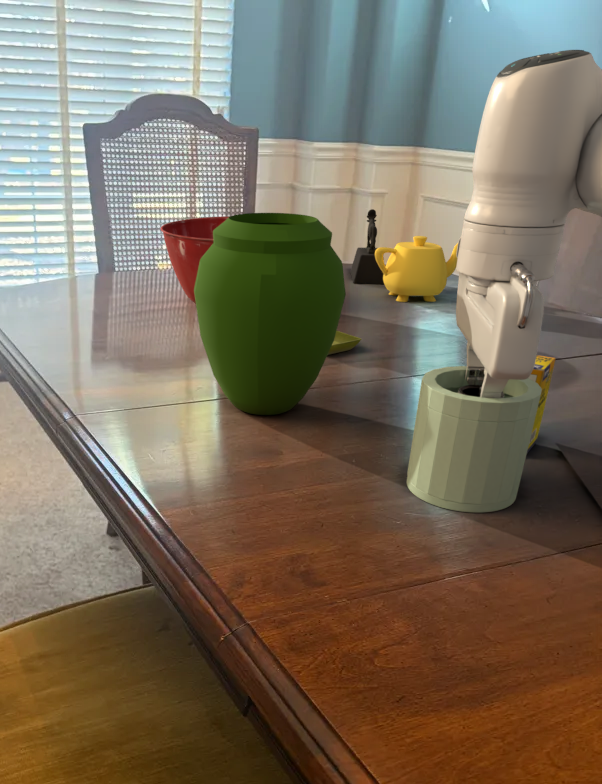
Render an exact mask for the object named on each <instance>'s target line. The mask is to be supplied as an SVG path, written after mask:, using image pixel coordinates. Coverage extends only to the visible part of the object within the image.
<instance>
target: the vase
mask: <svg viewBox="0 0 602 784" xmlns="http://www.w3.org/2000/svg"><path fill="white" fill-rule="evenodd" d="M228 217H229V218H228V219H227V220H225V221H224V222H223V223H222V224H220V225H219V226H218V227H217V228H215V229H214V230H213V242H214V243H213V244H212V245H211V247H210V248H209V249H208V250H207V251H206V253H205V254H204V255H203V256H202V258H201V259H200V262H199V267H198V272H197V277H196V282H195V287H194V294H195V301H196V303H195V308H196V314H197V321H198V327H199V335H200V339H201V342H202V345H203V348H204V351H205V353H206V354H205V355H206V357H207V360H208V363H209V366H210V368H211V372H212V375H213V377H214V379H215V381H216V382H217V384H218V386H219V387H220V389H221V390H222V392H223V395H224V396H225V397H226V398H227V399H228V401H229V402H230V403H231V404H232V406H233V407H235V408H236V409H238V410H239V411H241V412H244V413H245V414H246V413H247V414H250V415H255V416H276V415H280V414H283V413H286V412H289V411H291V410H292V409H293V408H295V406H296V405H298V403H299V402H301V400H302V399H303V398H304V397H305V396H306V394H307V393H308V391H310V389H311V387H312V386H313V384H314V383H315V381H317V378H318V377H319V374H320V373H321V370H322V368H323V365H324V363H325V361H326V360H327V357H328V356H329V355H328V353H329V350H330V348H331V346H332V344H333V342H334V338H335V334H336V331H338V326H339V323H340V318H341V314H342V311H343V306H344V303H345V298H346V295H347V294H346V285H345V274H344V265H343V264H344V263H343V261H342V260H341V258H340V256H339V254H337V252H336V251H335V249H334V248H333V247H332V238H333V232H332V231H331V230H330V229H329V228H328V227H326V226H325V225H324V224H323V223H322V222H321V221H320V220H319V218H317V217H314V216H313V215H312V216H311V215H306V214H300V213H299V214H298V213H287V212H247V213H238V214H233V215H230V216H228Z"/></svg>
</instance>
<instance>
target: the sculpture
mask: <svg viewBox="0 0 602 784" xmlns="http://www.w3.org/2000/svg"><path fill="white" fill-rule="evenodd" d="M366 218H367V220H366V222H367V223H368V226H367V237H366V238H367V242H366V247H357V248H356V250H355V254H354V258H353V261H352V264H351V269H350V271H349V274H350V275H351V281H352V283H353V284H362V285H363V284H369V285H372V284H373V285H378V284H379V285H385V284H384V282H383V275H384V273H383V272H382V270H381V269H380V267H379V265H378V264H377V261H376V259H375V251H376V249H377V248H378V247H376V242H377V236H378V228H377V226H376V222H377V219H376V218H377V211H376V210H375V209H372V208H371V209H369V210H368V212H367V215H366ZM384 257H385V256H383V259H384V260H385V258H384Z"/></svg>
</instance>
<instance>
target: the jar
mask: <svg viewBox="0 0 602 784" xmlns="http://www.w3.org/2000/svg"><path fill="white" fill-rule="evenodd" d="M466 368H467V365H457V366H456V365H455V366H444V367H439V368H434V369H431V370H429V371H427V372H425V373H424V375H423V376H422V378H421V383H420V390H419V395H418V402H417V409H416V413H415V421H414V428H413V434H412V440H411V447H410V448H411V449H410V453H409V459H408V465H407V472H406V473H407V475H406V476H407V477H406V486H407V488H408V490H409V491H410V493H412V494H413V495H414V496H416V498H418V499H420V500H422V501H424V502H425V503H428V504H430V505H433V506H435V507H439V508H442V509H446V510H451V511H455V512H461V513H462V512H463V513H477V514H478V513H480V514H481V513H493V512H497V511H502V510H504V509H506V508H509V507H510V506H512V504H514V502H515V501H516V499H517V496H518V492H519V487H520V484H521V479H522V475H523V471H524V468H525V462H526V459H527V455H528V454H527V450H528V446H529V442H530V438H531V433H532V429H533V425H534V421H535V417H536V412H537V408H538V404H539V400H540V395H541V391H542V388H541V387H540V386H539V385H538V383H536V382H534V381H533V380H531V379H529V378H527V379H524V380H512V379H509V380H508V382H507V384H506V386H505V388H504V389H503V392H504V394H505V396H504V398H481V397H474V396H467V395H463V394H459V393H458V390H459V388H460V387H462V386H466V385H468V383H467V381H466V380H465V374H466Z"/></svg>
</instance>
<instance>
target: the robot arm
mask: <svg viewBox="0 0 602 784" xmlns="http://www.w3.org/2000/svg"><path fill="white" fill-rule="evenodd" d="M480 120H481V121H480V125H479V128H478V134H477V139H476V144H475V150H474V156H473V160H472V166H471V168H472V179H473V181H472V182H473V186H472V187H473V188H472V194H471V197H470V201H469V203H468V205H467V208H466V210H465V213H464V217H463V223H462V229H461V236H460V237H459V239H458V240H457V241H458V242H457V243H458V246H457V253H456V255H457V258H458V259H457V265H456V269H455V270H456V271H457V273H458V282H457V293H456V306H455V321H456V326H457V327H458V330H460V332H461V333H462V334H463V336H464V338H465V340H466V341H467V343H466V366H467V368H466V374H465V380H466V381H467V383H468V385H482V387H480V389H479V396H478V397H481V398H500V397H501V393H502V391H503V389H504V388H505V386H506V384H507V382H508V380H509V379H512V380H524V379H527V378H528V377H529V376H530V374H531V373H532V371H533V368H534V365H535V361H536V356H537V355H538V349H539V343H540V338H541V332H542V325H543V320H544V310H545V299H544V296H543V293H542V291H540V290H539V289H538V288H537V287H538V286H537V285H538V282H540V281H546V280H549V279H552V277H554V275H555V270H556V266H557V261H558V257H559V252H560V249H561V244H562V239H563V234H564V231H565V225H566V221H567V218H568V215H569V213H570V212H571V211H572V210H574V209H578V210H580V211H583V212H587V213H590V214H594V215H596V216H599V217H601V218H602V68H601V67H600V66H599V64H598V63H597V62H596V61H595V58H594V56H593V54H592V53H591V52H590V51H586V50H584V49H566V50H559V51H556V52H551V53H550V52H549V53H542V54H537V55H533V56H528V57H524V58H520V59H518V60H515V61H513V62H511V63H509V64H507V65H506V66H505V67H503V69H501V70H500V71H499V72H498V73H497V75H496V76H495V78H494V80H493V82H492V84H491V87H490V88H489V92H488V95H487V98H486V101H485V105H484V107H483V112H482V116H481V119H480Z"/></svg>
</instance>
